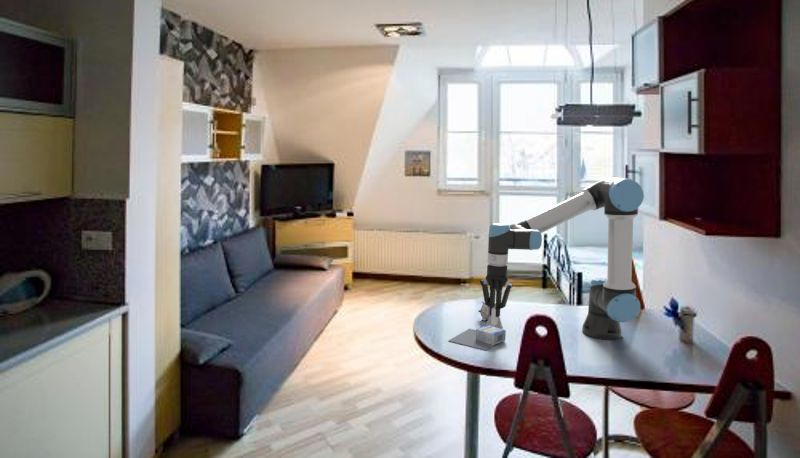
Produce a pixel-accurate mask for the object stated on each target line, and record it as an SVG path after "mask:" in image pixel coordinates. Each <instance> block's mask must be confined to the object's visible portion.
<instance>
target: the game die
mask: <svg viewBox="0 0 800 458" xmlns="http://www.w3.org/2000/svg"><path fill="white" fill-rule="evenodd" d="M481 303H482V305H481V308H480V309H478V311H477V312H478V313H480V315H481V317H482V319H481V321H482V322H484V320H487V321H488V319H489V316H490V315H489V311H490V307H489V306H487V305H485V301H482V302H481Z"/></svg>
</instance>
